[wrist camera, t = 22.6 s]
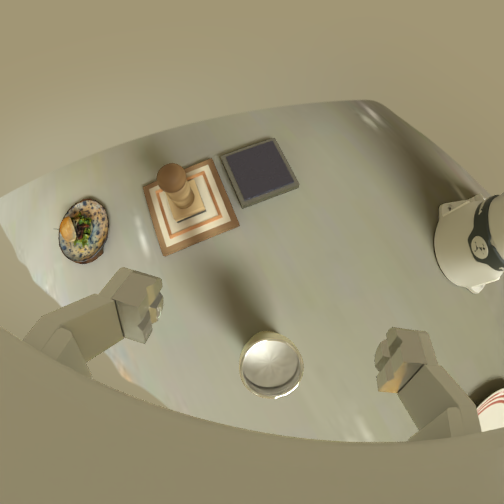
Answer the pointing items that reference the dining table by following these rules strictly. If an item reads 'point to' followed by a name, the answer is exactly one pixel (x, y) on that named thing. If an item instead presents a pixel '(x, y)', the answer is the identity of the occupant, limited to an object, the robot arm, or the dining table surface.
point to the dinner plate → (492, 411)
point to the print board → (197, 227)
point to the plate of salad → (84, 231)
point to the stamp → (180, 192)
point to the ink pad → (259, 172)
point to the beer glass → (270, 365)
